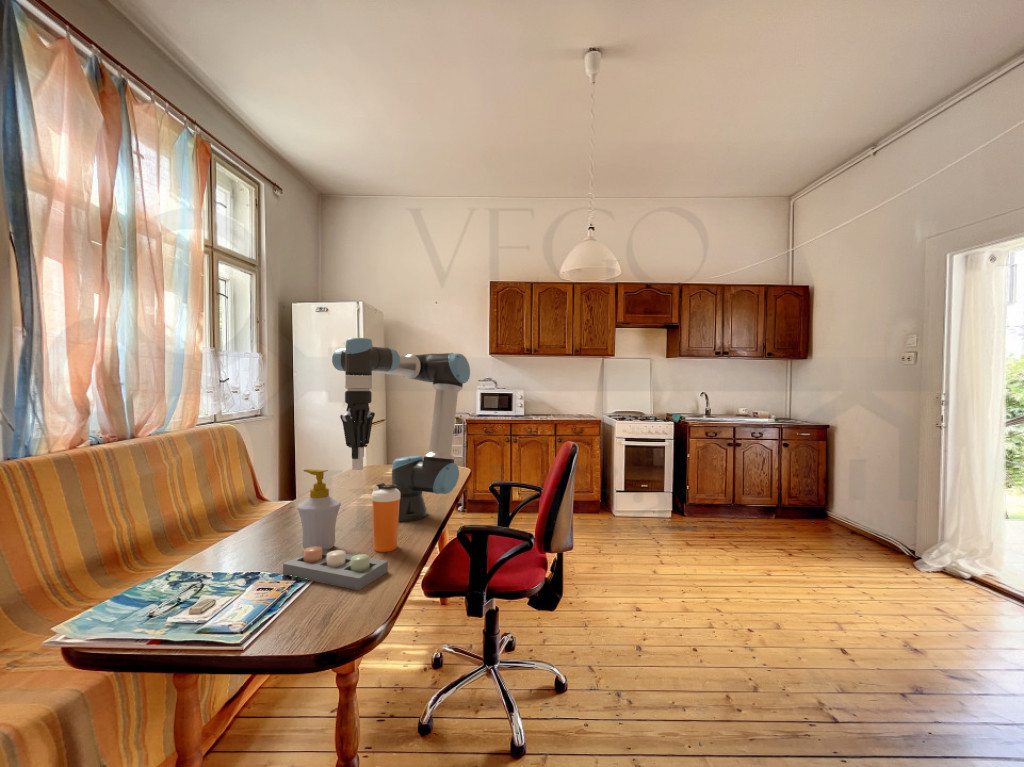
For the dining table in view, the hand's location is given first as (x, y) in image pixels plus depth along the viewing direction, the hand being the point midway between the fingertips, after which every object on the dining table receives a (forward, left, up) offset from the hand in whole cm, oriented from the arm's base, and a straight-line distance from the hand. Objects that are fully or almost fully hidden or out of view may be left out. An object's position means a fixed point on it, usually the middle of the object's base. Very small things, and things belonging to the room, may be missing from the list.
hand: (357, 469), depth 136 cm
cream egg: (+11, +2, -25) cm, 27 cm away
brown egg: (+11, -6, -25) cm, 28 cm away
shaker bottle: (-10, +3, -27) cm, 29 cm away
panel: (+11, +2, -26) cm, 29 cm away
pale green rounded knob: (+11, +10, -25) cm, 29 cm away
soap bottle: (-2, -16, -27) cm, 31 cm away
